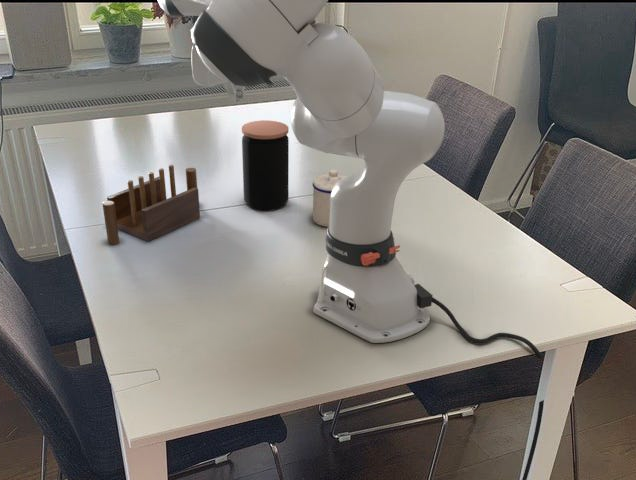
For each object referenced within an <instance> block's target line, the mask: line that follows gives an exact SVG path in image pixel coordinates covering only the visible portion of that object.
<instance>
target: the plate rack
mask: <svg viewBox="0 0 636 480" xmlns="http://www.w3.org/2000/svg"><path fill="white" fill-rule="evenodd" d="M168 172H169V186H170V196H171V197H167V188H166V180H165V179H166V178H165V169H164V168H161V167H160V168H158V176H156V177H155V173H154V172H153V171H151V172H148V180H147V181H145V179H144V176H141V175H140V176H138V177H137V180H138V184H136V185H134V180H132V179H130V180H127V187H128V188H126V189H124V190H121V191H119V192H116V193H113V194H111V195H108V196H106V197H107V198H106V199H107V200H106V201H113V202H114V205H115V212H116V220H117V227H118V231H121V232H124V233H126V234H129V235H132V236H134V237H136V238H138V239H141V240H144V241H146V242H151V241H153V240H154V239H155V240H156V239H157V238H159V237H161V236H163V235H166V234H168V233H170V232H172V231H174V230H176V229H178V228H181V227H183V226H185V225H187V224H189V223H192V222H193V221H196V220H198V219H200V218H201V212H200V211H201V210H200V209H201V208H200V195H199V194H200V193H199V188H198V187H197V188H195V187H194V188H192V189H189V190H187V189H186V190H185V191H183V192H180V193H178V194H177V188H176V176H175V166H174V164H168Z"/></svg>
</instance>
